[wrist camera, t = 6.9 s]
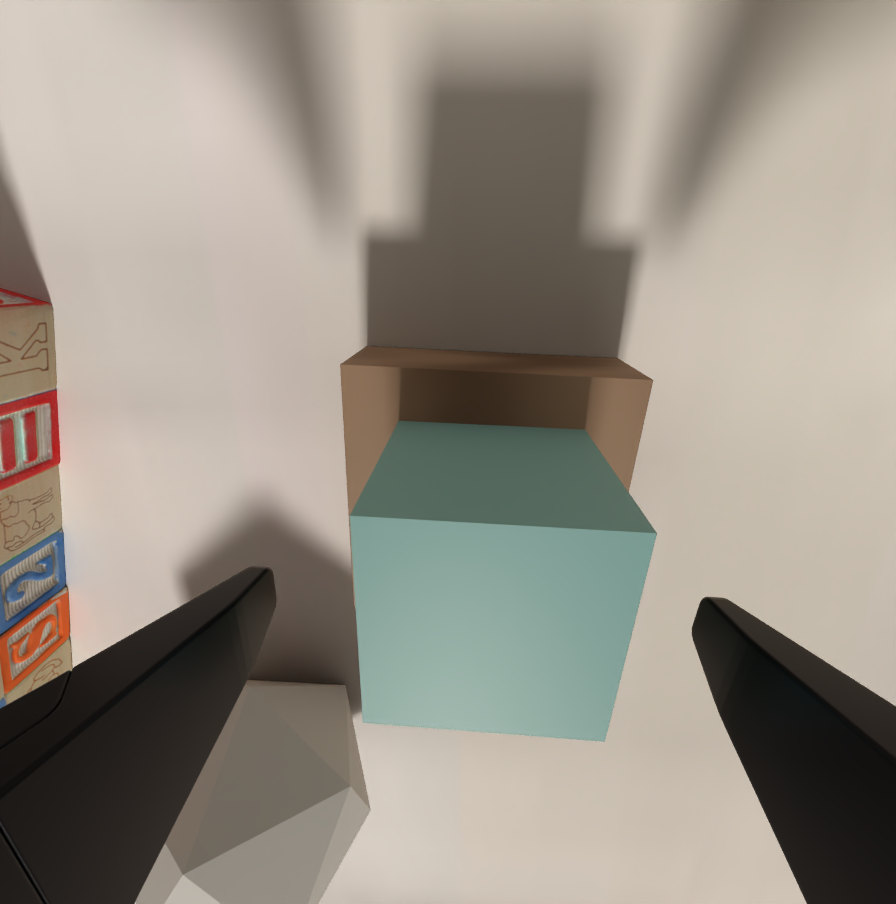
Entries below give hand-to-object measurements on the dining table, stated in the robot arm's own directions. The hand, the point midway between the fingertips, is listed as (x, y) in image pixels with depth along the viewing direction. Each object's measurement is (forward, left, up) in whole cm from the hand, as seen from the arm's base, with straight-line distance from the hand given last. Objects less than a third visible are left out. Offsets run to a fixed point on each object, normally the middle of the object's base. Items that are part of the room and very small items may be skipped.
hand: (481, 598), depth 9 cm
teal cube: (0, 0, -4) cm, 4 cm away
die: (+8, +13, -7) cm, 17 cm away
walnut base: (0, 0, -7) cm, 7 cm away
